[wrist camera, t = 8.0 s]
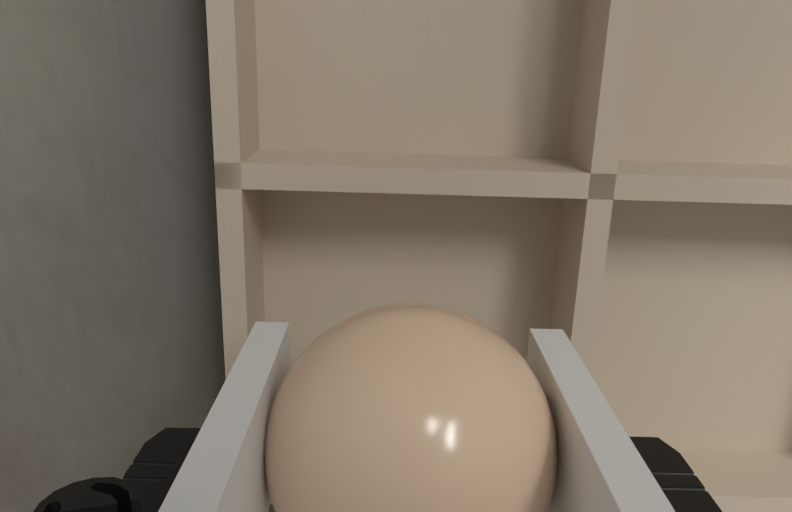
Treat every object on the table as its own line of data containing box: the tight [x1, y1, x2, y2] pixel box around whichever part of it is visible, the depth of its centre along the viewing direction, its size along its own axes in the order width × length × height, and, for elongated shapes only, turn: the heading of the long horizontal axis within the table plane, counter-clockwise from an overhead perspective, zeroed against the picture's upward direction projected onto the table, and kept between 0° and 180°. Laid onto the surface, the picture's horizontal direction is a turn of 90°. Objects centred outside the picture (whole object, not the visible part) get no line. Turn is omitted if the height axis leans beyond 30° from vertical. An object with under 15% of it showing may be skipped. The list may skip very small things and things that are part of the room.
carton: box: [206, 0, 792, 512], centre depth 17 cm, size 18×26×3 cm
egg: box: [265, 303, 558, 512], centre depth 13 cm, size 6×6×6 cm
